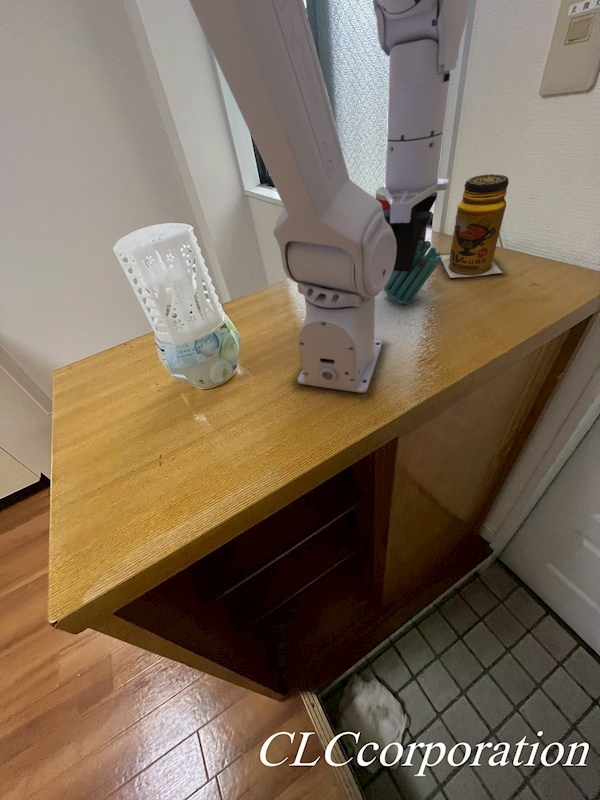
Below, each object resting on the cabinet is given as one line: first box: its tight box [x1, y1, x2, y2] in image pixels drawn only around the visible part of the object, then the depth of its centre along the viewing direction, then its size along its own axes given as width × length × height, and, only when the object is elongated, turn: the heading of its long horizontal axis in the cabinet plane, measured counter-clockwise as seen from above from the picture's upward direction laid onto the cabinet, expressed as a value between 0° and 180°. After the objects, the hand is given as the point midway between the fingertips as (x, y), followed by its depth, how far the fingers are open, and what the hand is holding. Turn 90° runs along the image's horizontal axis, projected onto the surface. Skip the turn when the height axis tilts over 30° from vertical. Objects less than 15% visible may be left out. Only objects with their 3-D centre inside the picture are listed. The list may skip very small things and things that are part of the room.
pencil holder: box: [383, 240, 442, 305], centre depth 46 cm, size 7×6×5 cm
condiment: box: [440, 173, 509, 279], centre depth 50 cm, size 7×8×12 cm
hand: (404, 262), depth 45 cm, fingers closed on pencil holder, 4 cm apart
